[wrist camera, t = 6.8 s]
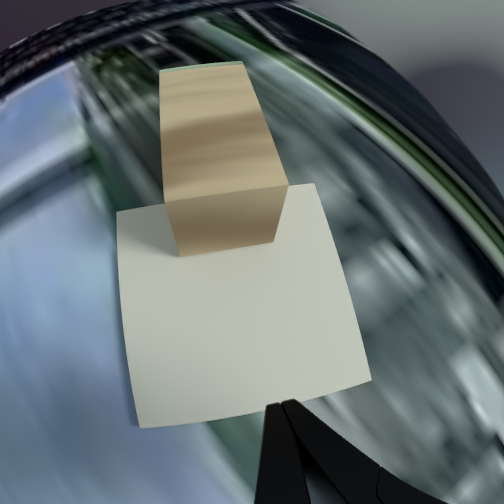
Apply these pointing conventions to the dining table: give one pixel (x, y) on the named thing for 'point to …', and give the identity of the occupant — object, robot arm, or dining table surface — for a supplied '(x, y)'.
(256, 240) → the beech block
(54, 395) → the dining table surface
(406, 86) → the dining table surface
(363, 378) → the stone tile
